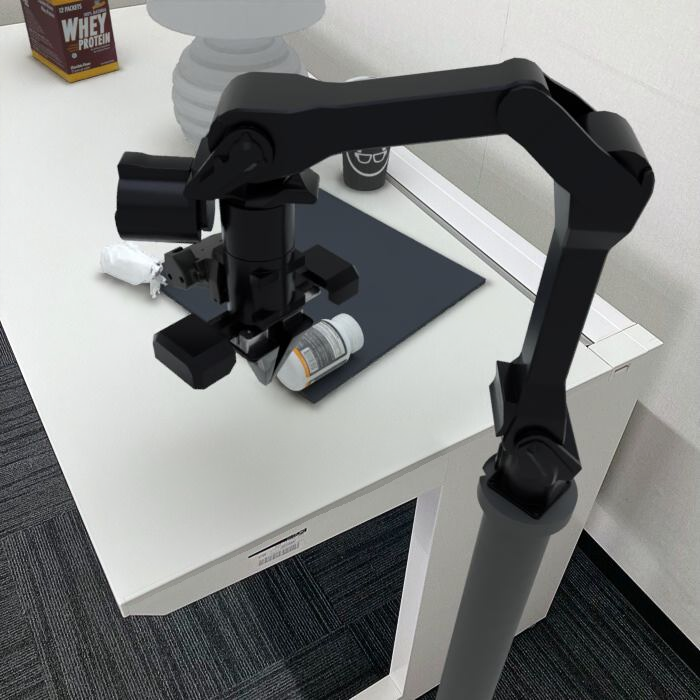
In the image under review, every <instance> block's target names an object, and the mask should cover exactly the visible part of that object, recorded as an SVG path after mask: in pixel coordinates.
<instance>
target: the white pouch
mask: <svg viewBox="0 0 700 700" xmlns="http://www.w3.org/2000/svg"><path fill="white" fill-rule="evenodd" d="M161 263H162V262H161V260H160V259H159V258H158V257H156V256H153V255H152V254H150V253H148V252H146V251H145V250H144V249H142V248H141V247H139V246H138V245H137V244H136V243H135V242H134V241H125V240H124V242H122V243H115V244H110V245H106V246H105V247H103V248H101V251H100V256H99V264H100V266H101V269H102V270H100V272H99V273H100V274H108V275H109V276H112V277H114V278H116V279H118V280H120V281H123V282H126V283H128V284H131V285H132V286H138V285H140V284H150V285H149V287H150V288H149V289H150V291H149V292H150V296H151V298H152V299H156V298H157V295H156V293H158V294H159V295H160V294H161V291H160V283H161V284H164V285H167V284H166V283H165V281H166V279H165V278H164V277H163V276H161V275H160V273H161V272H162V270H163V266H162V265H161Z"/></svg>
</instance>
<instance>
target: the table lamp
mask: <svg viewBox="0 0 700 700" xmlns="http://www.w3.org/2000/svg"><path fill="white" fill-rule="evenodd" d="M145 5H146V6H145V8H146V9H145V10H146V11H147V14H148V16H149V17H150V18H151V20H152V21H154V22H155V23H157V24H158V25H159V26H161V27H163V28H166V29H167V30H170V31H172V32H176V33H178V34H182V35H186V36H190V37H194V38H193V40H192V41H191V43H189V44H187V46H185V48H183V49H182V52H181V54H180V56H179V58H178V62H177V63H176V64H175V66H174V69H173V71H172V74H171V75H172V76H171V81H172V87H171V100H172V103H173V113H174V118H175V120H176V122H177V123H178V125H180V126H179V127H180V128H181V131H182V134H183V136H184V137H185V139H186V140H187V142H189V143H190V144H191V145H192V146H193V147H194V149H196V151H197V150H198V147H199V144H200V141H201V139H202V138H203V137H205V135H206V134H207V133H208V131H209V129H210V126H211V123H212V120H213V117H214V114H215V111H216V108H217V105H218V103H219V100H220V97H221V94H222V92H223V91H224V89H225V88H226V86H227V85H228V84H229V83H230V81H231V80H232V79H233V78H235V77H236V76H238V75H241V74H245V73H248V72H273V73H293V74H299V75H303V76H306V77H309V78H310V76H309V71H308V69H307V67H306V65H305V63H303V61H302V60H301V57H300V55H299V53H298V52H297V50H296V48H295V47H294V46H293V45H291V44H290V43H288V42H287V41H286V40H285V38H283V37H284V36H288V35H291V34H294V33H295V34H296V33H298V32H300V31H304V30H306V29H308V28H310V27H311V26H314V25H316V24H317V23H318V22H320V20H322V18H323V17H324V15H325V14H326V9H327V7H326V0H146V3H145Z"/></svg>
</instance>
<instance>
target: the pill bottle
mask: <svg viewBox="0 0 700 700" xmlns="http://www.w3.org/2000/svg"><path fill="white" fill-rule="evenodd" d="M363 343H364V337H363V333H362V330H361V328H360V326H359V325H358V323H357V322H356V321H355V320H354V319H353V318H352V317H351V316H349V315H347V314H339V315H337V316H336V317H334V318H332V320H328V319H322V320H319V321H317V322H315V323H314V325H313V327H312V328H311V329H309V330H308V331H307V332H306V333H305V335H304V336H303V338H302V339H301V340H300V342H299V343H298V344H297V346H296V347H295V348H294V350H293V351H292V353H291V354H290V356H289V357H288V358H287V360H286V361H285V363H284V364H283V366H282V368H281V369H280V371H279V372H278V374H277V376H276V377H277V378H278V380H279V381H280V382H281V383H282V385H284V387H286V388H288V389H289V390H290V391H294V392H298V391H299V390H302V389H303V388H305V387H307V386H309V385H310V384H312V383H313V382H315V381H317V380H318V379H320V378H322V377H323V376H325V375H327V374H328V373H330V372H332V371H333V370H335V369H337V368H338V367H340V366H341V365H343V364H344V363H346V362H347V360H348V359H349V356H350V354H352V353H354V352H356V351H358V350H359V349H360V348H361V347H362V346H363Z"/></svg>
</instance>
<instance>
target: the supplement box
mask: <svg viewBox="0 0 700 700" xmlns="http://www.w3.org/2000/svg"><path fill="white" fill-rule="evenodd" d="M19 1H20V5H21V10H22V15H23V19H24V24H25V28H26V32H27V37H28V41H29V44H30V45H29V46H30V50H31V54H32V57H33V58H35V59H36V60H38V61H39V62H40V63H42V64H43V65H45V66H46V67H47V68H49V69H50V70H51V71H52V72H54V73H55V74H57V75H58V76H59V77H61V78H63V80H65V81H66V82H68V83H74V82H77V81H82V80H85V79H89V78H93V77H96V76H100V75H103V74H107V73H110V72H114V71H118V70H120V67H119V60H118V59H119V58H118V53H117V47H116V41H115V35H114V30H113V22H112V17H111V9H110V4H109V0H19Z"/></svg>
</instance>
